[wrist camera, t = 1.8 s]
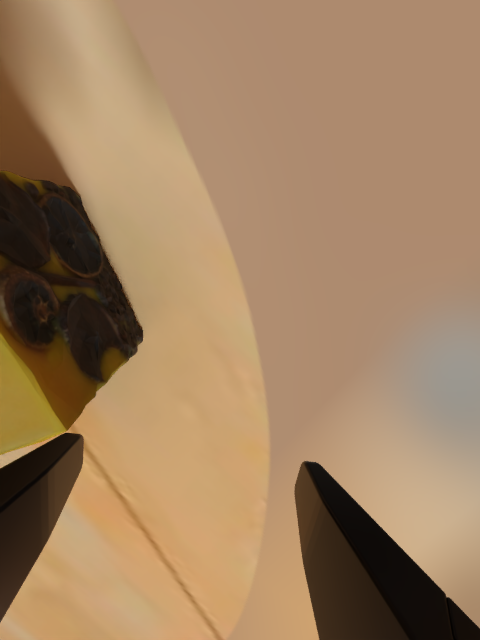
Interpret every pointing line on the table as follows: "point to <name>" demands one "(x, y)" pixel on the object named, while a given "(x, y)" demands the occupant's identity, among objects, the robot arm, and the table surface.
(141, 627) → the table surface
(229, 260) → the table surface
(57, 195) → the spotted yellow cube
